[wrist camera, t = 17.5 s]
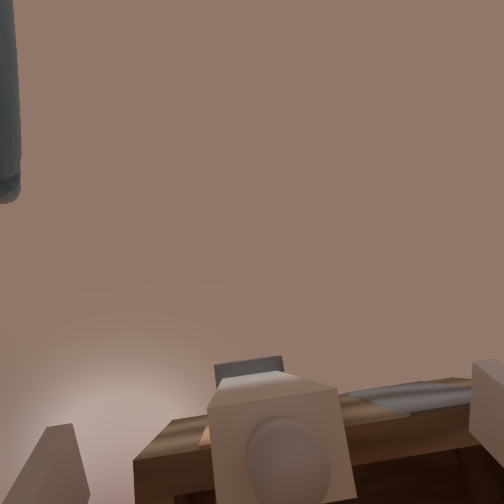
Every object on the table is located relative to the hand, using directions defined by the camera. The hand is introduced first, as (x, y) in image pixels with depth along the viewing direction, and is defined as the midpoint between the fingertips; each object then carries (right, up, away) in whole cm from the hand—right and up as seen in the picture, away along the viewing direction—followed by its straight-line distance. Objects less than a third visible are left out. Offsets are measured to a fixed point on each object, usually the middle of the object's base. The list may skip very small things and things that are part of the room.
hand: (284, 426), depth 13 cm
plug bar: (0, -4, +9) cm, 10 cm away
